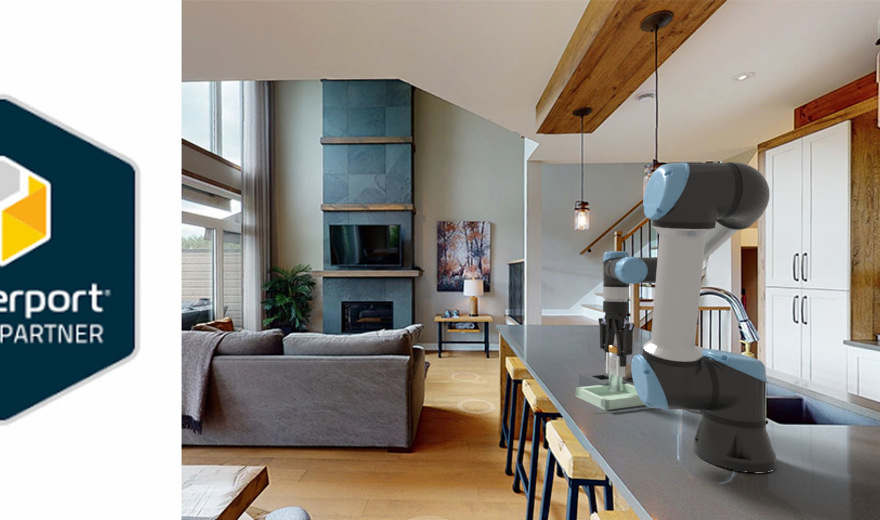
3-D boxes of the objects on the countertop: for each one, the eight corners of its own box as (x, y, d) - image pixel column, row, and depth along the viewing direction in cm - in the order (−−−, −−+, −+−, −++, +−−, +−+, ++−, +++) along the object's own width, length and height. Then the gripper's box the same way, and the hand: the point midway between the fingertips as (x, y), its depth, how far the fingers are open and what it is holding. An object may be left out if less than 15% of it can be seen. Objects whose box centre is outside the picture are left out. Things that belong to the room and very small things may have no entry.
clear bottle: (625, 391, 132) (625, 346, 132) (614, 392, 131) (614, 347, 131) (615, 387, 136) (616, 344, 136) (605, 388, 135) (605, 344, 135)
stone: (625, 378, 164) (638, 360, 159) (629, 391, 158) (643, 373, 153) (599, 369, 164) (613, 351, 159) (603, 382, 158) (617, 363, 153)
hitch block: (626, 392, 142) (626, 380, 142) (602, 395, 139) (602, 383, 139) (602, 383, 154) (602, 372, 154) (579, 385, 150) (579, 374, 150)
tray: (624, 392, 143) (624, 382, 143) (657, 404, 130) (657, 394, 130) (575, 397, 137) (575, 387, 137) (604, 411, 124) (604, 400, 124)
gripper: (646, 302, 127) (645, 380, 127) (606, 297, 143) (606, 367, 143) (626, 303, 124) (625, 383, 124) (588, 298, 140) (587, 369, 140)
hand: (615, 374), depth 134 cm, fingers closed on clear bottle, 4 cm apart
